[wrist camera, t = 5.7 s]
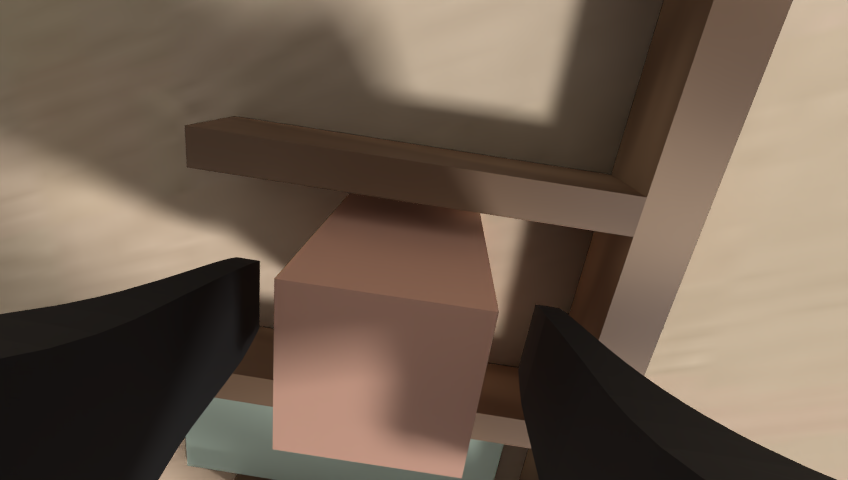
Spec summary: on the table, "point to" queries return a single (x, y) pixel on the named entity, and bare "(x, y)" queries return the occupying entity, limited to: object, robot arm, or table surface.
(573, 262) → the table surface
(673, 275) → the notched rack
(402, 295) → the terracotta block
